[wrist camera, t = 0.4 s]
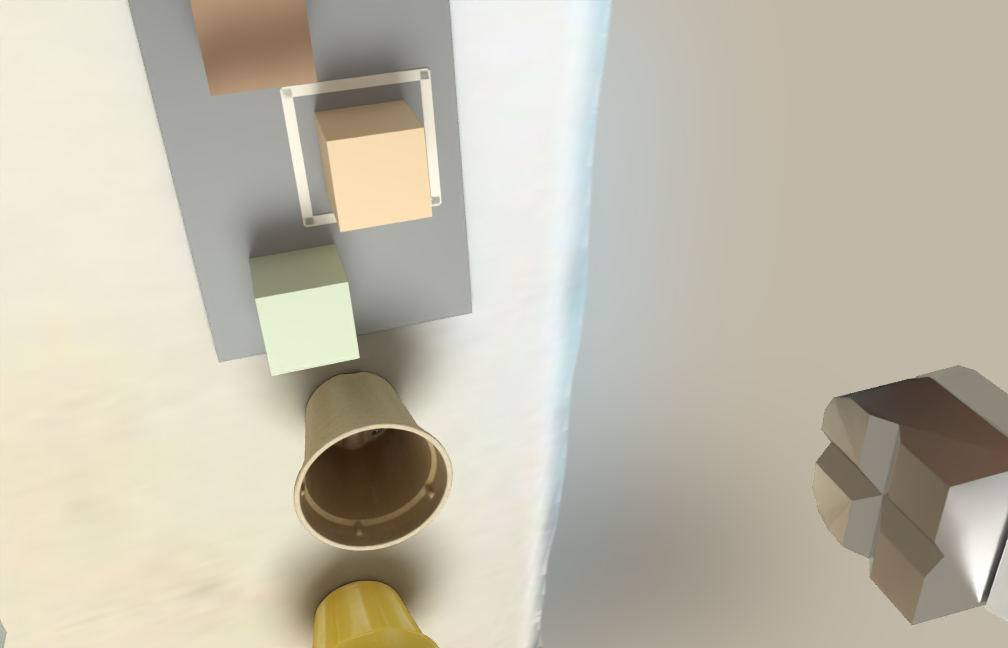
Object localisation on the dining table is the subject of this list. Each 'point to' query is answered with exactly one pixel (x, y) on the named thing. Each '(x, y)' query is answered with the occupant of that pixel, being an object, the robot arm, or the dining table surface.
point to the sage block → (304, 309)
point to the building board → (320, 163)
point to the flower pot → (367, 466)
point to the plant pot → (366, 619)
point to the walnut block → (254, 44)
